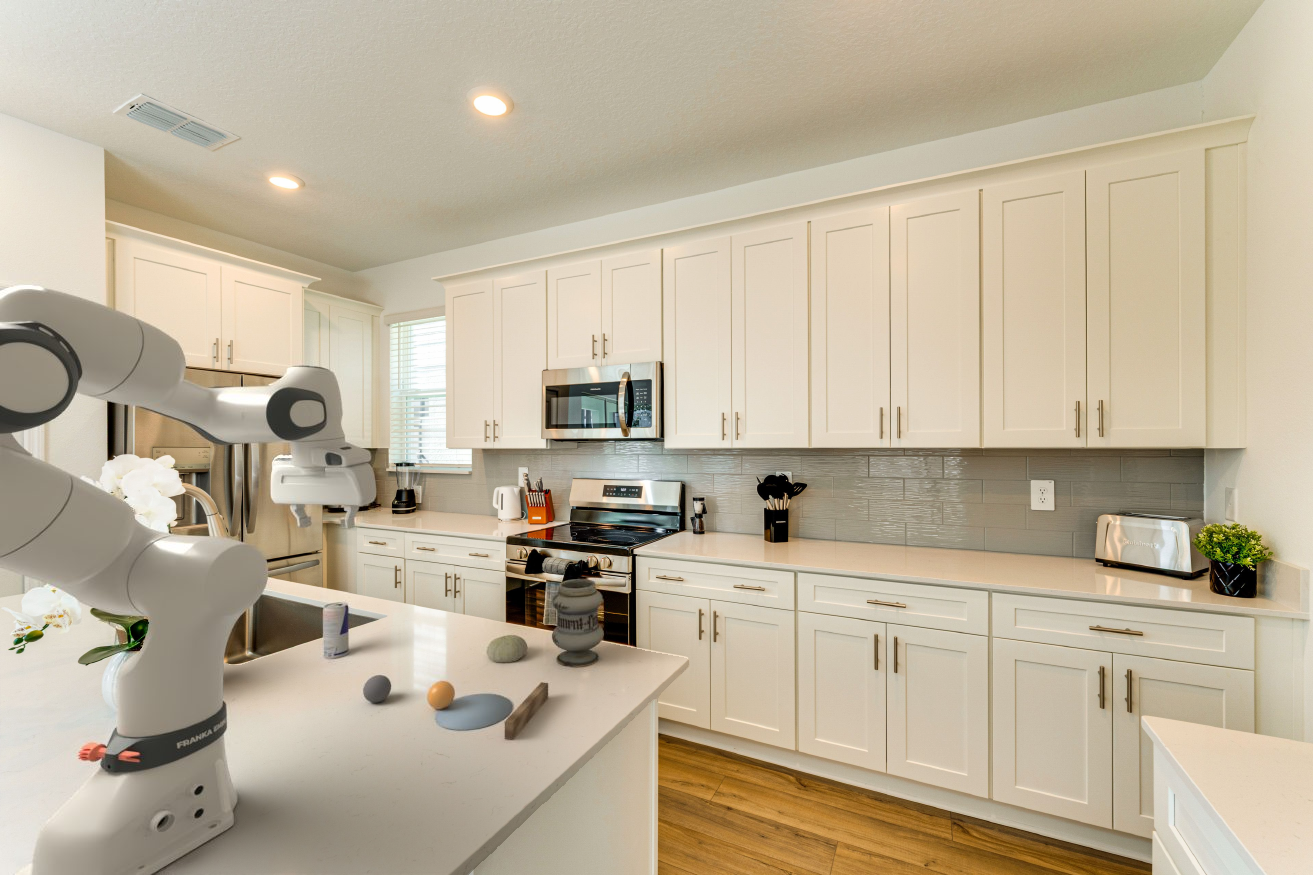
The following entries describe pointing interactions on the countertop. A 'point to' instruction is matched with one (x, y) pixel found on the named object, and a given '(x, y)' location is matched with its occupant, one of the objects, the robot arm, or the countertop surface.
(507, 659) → the sea urchin shell
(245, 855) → the countertop surface
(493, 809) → the countertop surface
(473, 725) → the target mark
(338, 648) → the energy drink
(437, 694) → the object ball
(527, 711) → the wall
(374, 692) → the gray ball
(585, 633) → the apothecary jar
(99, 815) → the robot arm
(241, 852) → the countertop surface
